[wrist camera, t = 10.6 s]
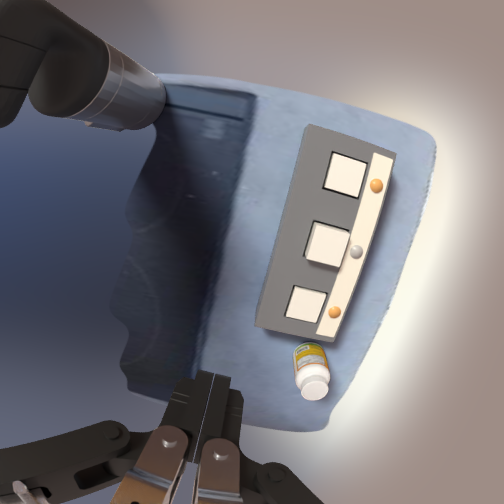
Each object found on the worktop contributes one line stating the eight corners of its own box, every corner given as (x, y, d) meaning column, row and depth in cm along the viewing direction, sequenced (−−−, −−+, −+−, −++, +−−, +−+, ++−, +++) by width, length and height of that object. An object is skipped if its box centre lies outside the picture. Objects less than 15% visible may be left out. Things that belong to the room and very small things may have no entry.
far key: (313, 313, 44) (315, 322, 41) (285, 307, 43) (286, 316, 41) (322, 287, 42) (326, 295, 40) (293, 280, 42) (295, 288, 40)
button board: (327, 326, 47) (333, 343, 42) (255, 310, 47) (254, 327, 41) (383, 154, 39) (397, 153, 34) (304, 128, 39) (309, 123, 33)
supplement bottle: (317, 368, 49) (324, 406, 40) (288, 362, 49) (291, 401, 40) (328, 344, 48) (339, 381, 38) (298, 338, 48) (304, 374, 38)
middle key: (334, 260, 40) (339, 267, 37) (304, 252, 40) (306, 258, 37) (344, 229, 38) (349, 234, 36) (313, 220, 38) (316, 224, 36)
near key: (351, 194, 38) (357, 197, 36) (321, 185, 38) (325, 187, 36) (360, 163, 37) (366, 164, 34) (329, 154, 37) (334, 153, 34)
